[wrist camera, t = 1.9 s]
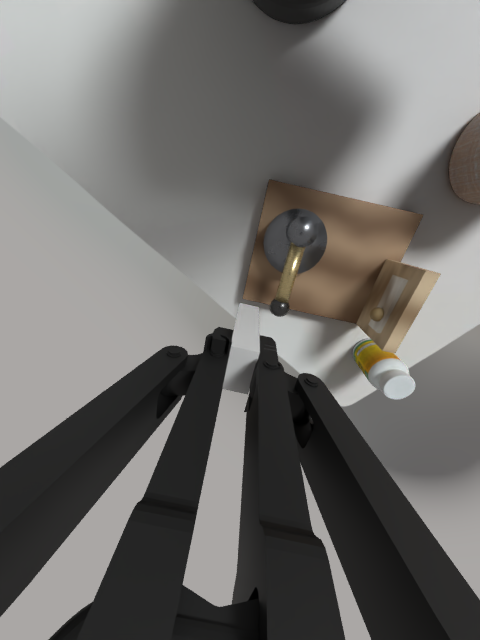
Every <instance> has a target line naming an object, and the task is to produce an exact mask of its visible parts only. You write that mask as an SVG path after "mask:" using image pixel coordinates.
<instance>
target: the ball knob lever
mask: <svg viewBox="0 0 480 640" xmlns="http://www.w3.org/2000/svg"><path fill="white" fill-rule="evenodd" d="M263 245H264V252H265V255H266V258H267V260H268V261H269V263H270V264H271V265H272V266H273V267H274V268H275V269H277V270H278V271H280V272H282V275H281V279H280V283H279V286H278V290H277V293H276V297H275V299H273V300H272V301H271V303H270V310H271V312H272V314H274V315H275V316H278V317H281V316H284V315H286V314H287V313H288V311H289V309H290V305H289V298H290V295H291V292H292V289H293V286H294V282H295V279H296V276H297V274H300V273H303V272H306V271H308V270H310V269H311V268H313V267H314V266H315V265H316V264H317V263H318V262H319V261H320V259H321V258H322V256H323V254H324V252H325V249H326V246H327V232H326V228H325V225H324V223H323V222H322V220H321V219H320V218H319V217H318V216H317V215H316V214H315V213H313V212H311V211H309V210H306V209H291V210H287V211H285V212H283V213H281V214H279V215H278V216H276V217H275V218H274V219H273V220H272V221H271V223H270V224H269V226H268V227H267V229H266V232H265V235H264V241H263Z"/></svg>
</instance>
